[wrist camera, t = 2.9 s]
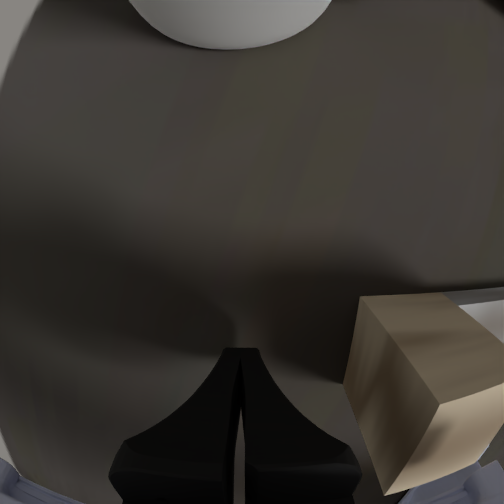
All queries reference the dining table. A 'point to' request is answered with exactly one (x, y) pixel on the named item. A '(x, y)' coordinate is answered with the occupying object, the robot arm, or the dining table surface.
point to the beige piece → (427, 381)
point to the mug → (230, 20)
